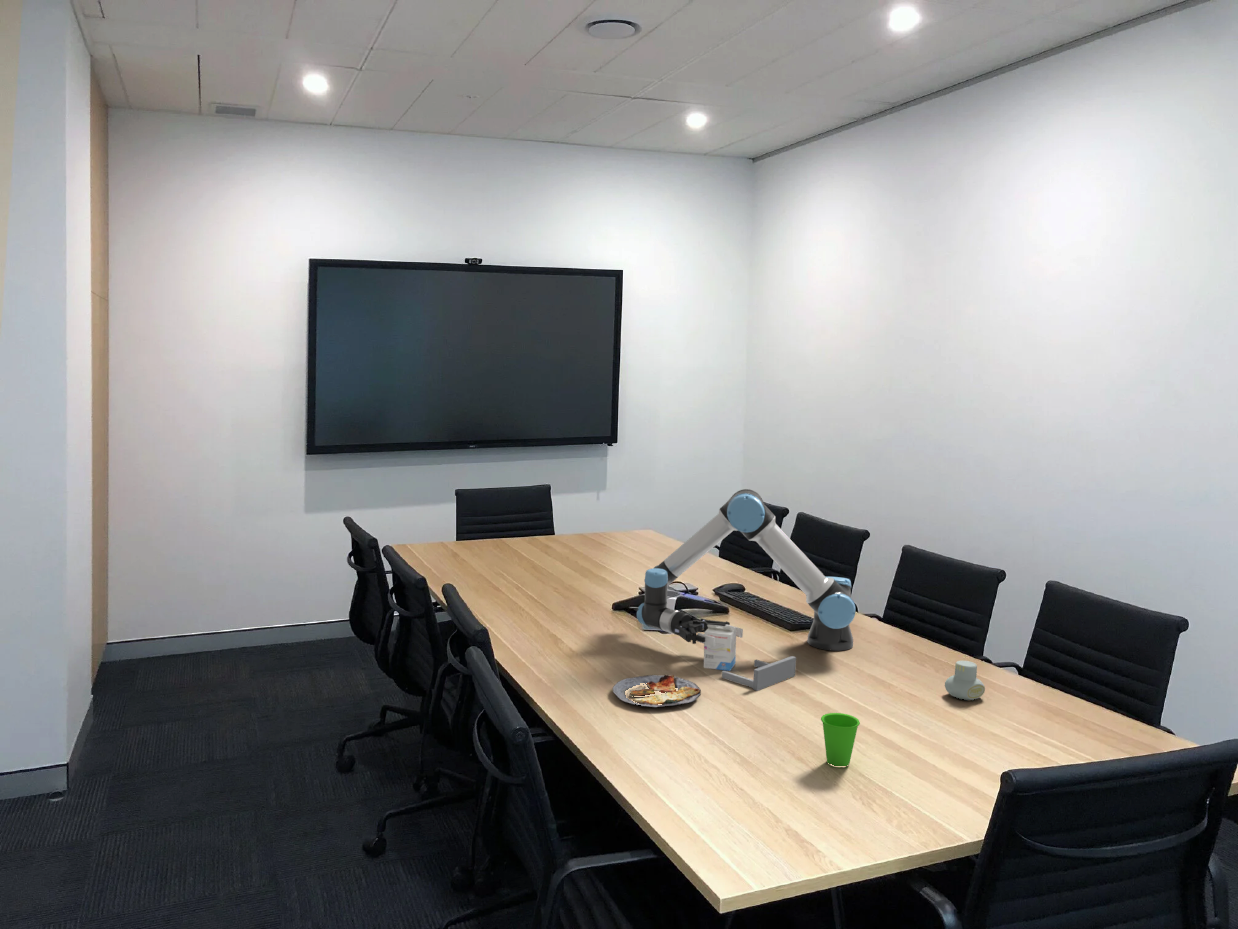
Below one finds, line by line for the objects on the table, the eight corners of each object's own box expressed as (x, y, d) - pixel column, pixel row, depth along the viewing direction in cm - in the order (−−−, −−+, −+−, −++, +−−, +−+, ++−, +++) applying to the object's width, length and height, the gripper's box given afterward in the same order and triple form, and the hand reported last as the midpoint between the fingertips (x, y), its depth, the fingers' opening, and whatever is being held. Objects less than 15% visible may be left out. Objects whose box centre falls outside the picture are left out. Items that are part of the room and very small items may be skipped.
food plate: (679, 677, 287) (680, 666, 286) (715, 705, 265) (715, 693, 265) (601, 688, 278) (601, 677, 277) (631, 718, 256) (631, 706, 256)
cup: (814, 756, 233) (816, 713, 231) (850, 755, 234) (852, 712, 232) (825, 772, 224) (827, 727, 223) (862, 772, 225) (865, 727, 223)
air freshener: (961, 704, 270) (963, 670, 269) (939, 695, 277) (941, 661, 276) (988, 699, 275) (991, 665, 274) (966, 689, 282) (968, 657, 281)
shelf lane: (795, 676, 290) (796, 657, 290) (757, 691, 277) (758, 671, 276) (757, 665, 300) (758, 646, 299) (719, 678, 287) (720, 659, 286)
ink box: (736, 663, 301) (737, 622, 300) (729, 671, 293) (731, 629, 292) (709, 660, 304) (711, 619, 302) (702, 667, 296) (704, 625, 295)
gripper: (701, 626, 320) (752, 641, 305) (650, 641, 302) (701, 657, 287) (702, 604, 319) (753, 618, 304) (651, 618, 301) (702, 633, 286)
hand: (728, 637), depth 296 cm, fingers open, 13 cm apart
